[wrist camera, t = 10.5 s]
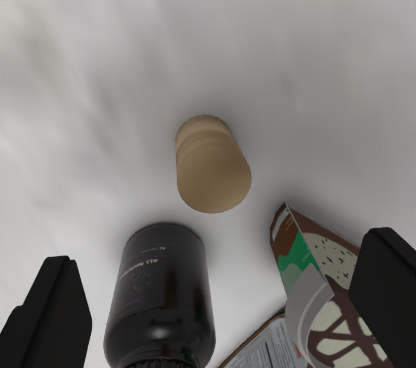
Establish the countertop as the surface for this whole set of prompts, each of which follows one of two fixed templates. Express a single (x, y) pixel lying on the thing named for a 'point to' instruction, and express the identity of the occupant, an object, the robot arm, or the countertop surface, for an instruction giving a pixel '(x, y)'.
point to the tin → (268, 349)
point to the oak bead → (210, 166)
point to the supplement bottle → (161, 303)
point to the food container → (321, 293)
